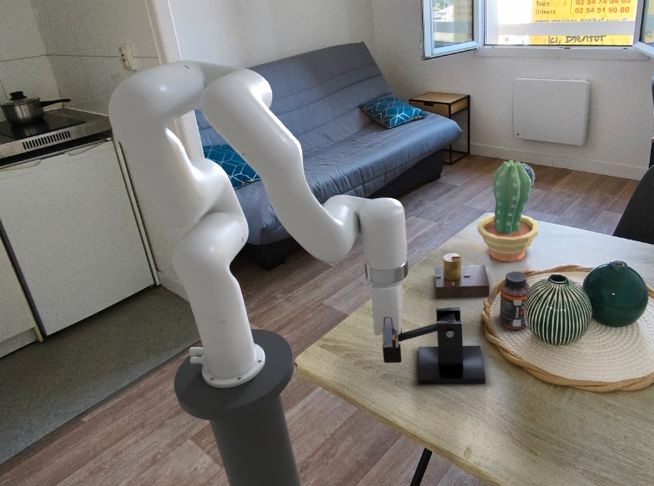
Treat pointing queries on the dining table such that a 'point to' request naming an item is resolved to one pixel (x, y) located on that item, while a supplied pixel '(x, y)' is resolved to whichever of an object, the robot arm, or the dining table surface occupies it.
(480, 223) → the potted cactus
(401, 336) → the lever handle
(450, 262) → the knob
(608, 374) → the dining table surface
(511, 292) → the supplement bottle
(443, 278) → the dial panel
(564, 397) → the dining table surface
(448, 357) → the bracket
